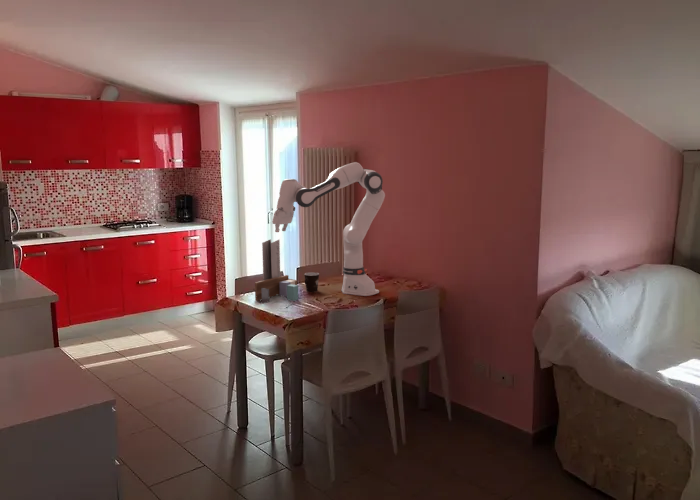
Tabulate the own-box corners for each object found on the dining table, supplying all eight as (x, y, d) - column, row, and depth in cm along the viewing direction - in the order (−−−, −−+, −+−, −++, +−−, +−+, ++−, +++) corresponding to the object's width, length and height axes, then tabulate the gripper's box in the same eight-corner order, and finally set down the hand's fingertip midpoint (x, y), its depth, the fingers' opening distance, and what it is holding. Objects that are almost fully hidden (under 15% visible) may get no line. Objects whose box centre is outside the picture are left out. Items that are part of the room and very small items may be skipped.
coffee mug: (313, 288, 355) (313, 271, 353) (322, 290, 348) (322, 274, 347) (297, 291, 348) (297, 274, 346) (305, 293, 341) (305, 276, 339)
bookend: (269, 301, 323) (268, 289, 322) (262, 303, 320) (262, 290, 319) (262, 300, 326) (262, 287, 325) (256, 301, 323) (256, 289, 322)
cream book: (295, 294, 340) (295, 280, 338) (291, 295, 337) (290, 281, 336) (289, 293, 343) (288, 279, 341) (284, 294, 340) (284, 280, 339)
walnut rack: (297, 293, 341) (297, 276, 339) (266, 302, 322) (265, 284, 320) (286, 291, 346) (286, 274, 345) (255, 300, 327) (254, 282, 325)
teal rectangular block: (298, 299, 328) (298, 285, 326) (293, 300, 325) (293, 286, 324) (291, 298, 331) (291, 284, 330) (287, 299, 328) (286, 285, 327)
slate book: (290, 295, 337) (290, 282, 335) (286, 297, 334) (285, 283, 332) (284, 294, 340) (283, 280, 338) (279, 295, 337) (279, 282, 335)
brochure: (272, 294, 338) (271, 243, 334) (263, 294, 340) (262, 242, 335) (280, 289, 352) (279, 239, 347) (271, 288, 353) (270, 239, 348)
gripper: (282, 209, 318) (278, 234, 320) (296, 208, 337) (292, 231, 340) (272, 206, 319) (267, 231, 322) (286, 205, 339) (282, 229, 341)
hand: (280, 231), depth 331 cm, fingers open, 8 cm apart
